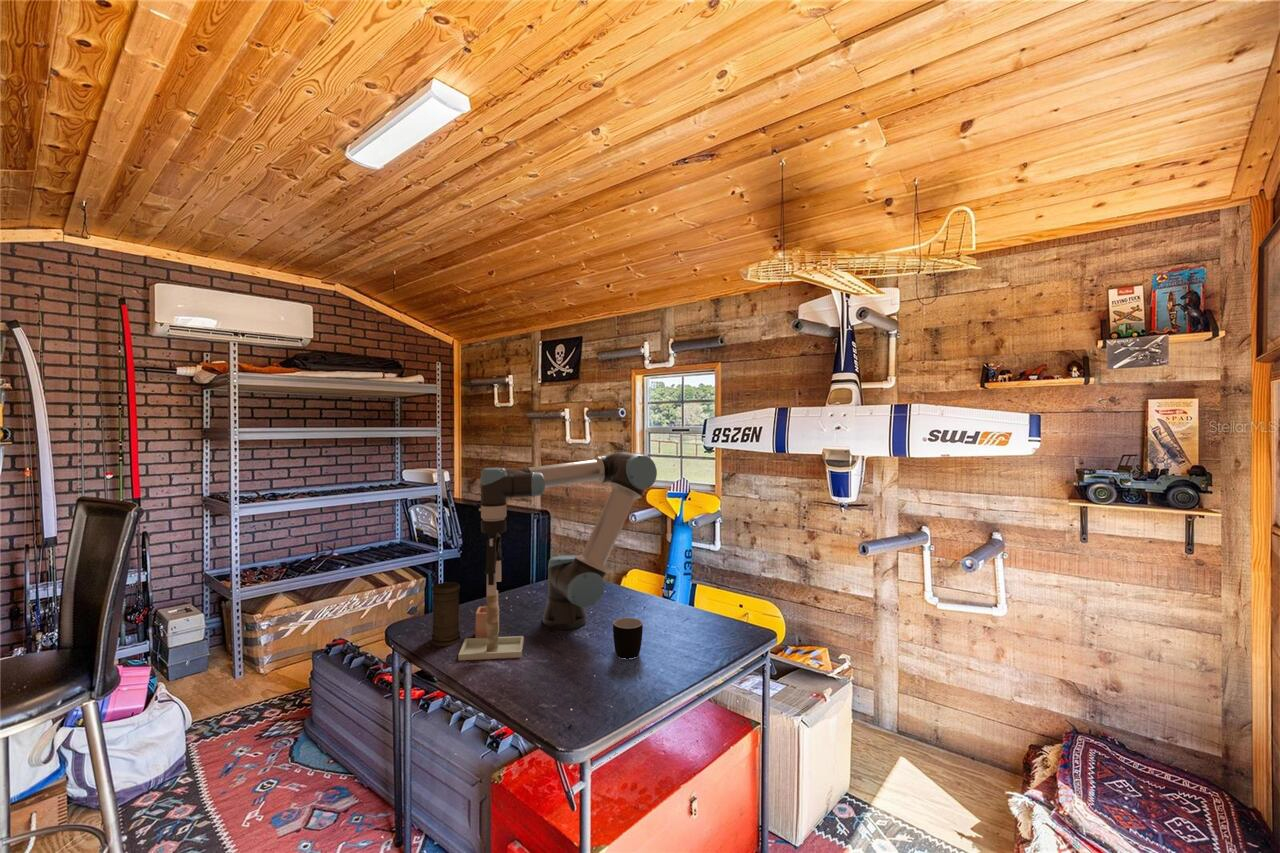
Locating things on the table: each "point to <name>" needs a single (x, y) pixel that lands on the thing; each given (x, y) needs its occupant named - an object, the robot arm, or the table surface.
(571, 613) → the robot arm
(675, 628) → the table surface
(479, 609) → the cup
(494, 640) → the dowel
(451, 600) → the container
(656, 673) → the table surface
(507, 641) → the tray
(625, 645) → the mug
